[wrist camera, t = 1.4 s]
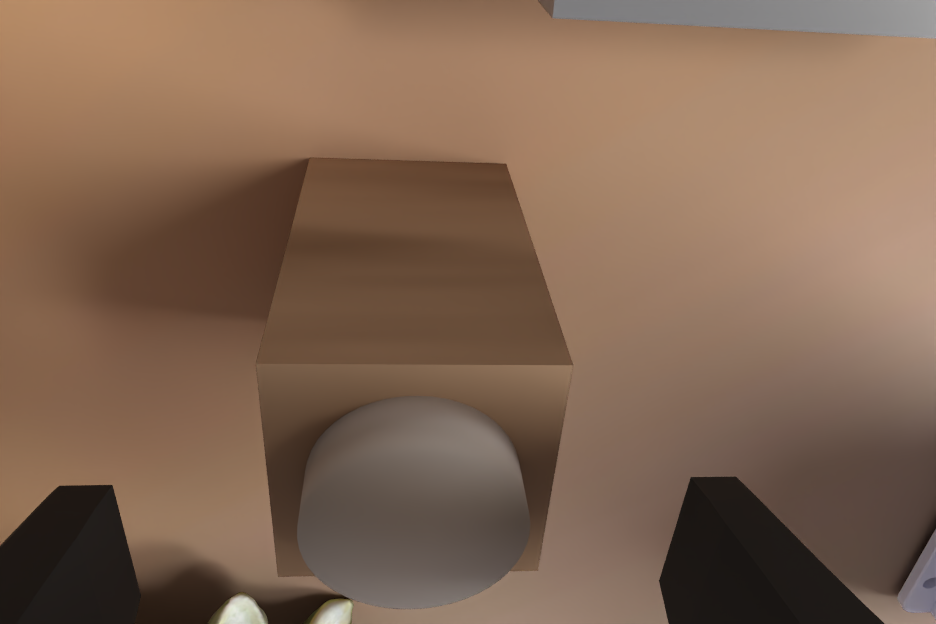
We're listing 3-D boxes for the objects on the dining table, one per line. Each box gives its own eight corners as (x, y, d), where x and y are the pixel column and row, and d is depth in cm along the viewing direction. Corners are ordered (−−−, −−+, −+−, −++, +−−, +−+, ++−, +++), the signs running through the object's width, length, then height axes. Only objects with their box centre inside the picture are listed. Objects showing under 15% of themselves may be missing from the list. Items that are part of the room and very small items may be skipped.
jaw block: (490, 325, 18) (548, 627, 11) (318, 323, 17) (268, 635, 11) (506, 164, 16) (590, 416, 9) (309, 157, 15) (241, 417, 8)
